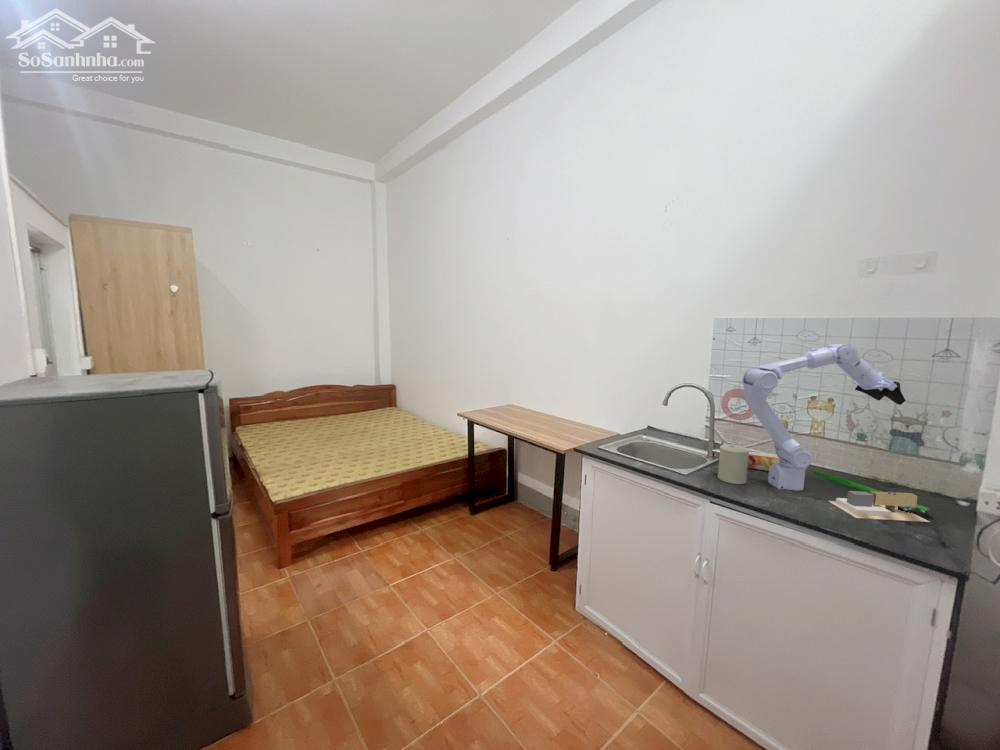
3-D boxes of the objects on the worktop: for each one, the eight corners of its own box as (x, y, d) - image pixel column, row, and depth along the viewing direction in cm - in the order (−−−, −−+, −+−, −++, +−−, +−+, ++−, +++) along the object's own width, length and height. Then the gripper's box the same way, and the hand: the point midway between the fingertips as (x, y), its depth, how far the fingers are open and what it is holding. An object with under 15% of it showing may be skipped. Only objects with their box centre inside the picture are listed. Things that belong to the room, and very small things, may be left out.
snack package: (724, 465, 156) (725, 449, 156) (724, 461, 162) (726, 445, 161) (789, 477, 145) (791, 459, 145) (788, 471, 151) (789, 454, 150)
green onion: (929, 516, 117) (816, 476, 144) (931, 506, 116) (818, 468, 143) (921, 519, 115) (808, 478, 142) (923, 509, 114) (810, 469, 141)
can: (741, 475, 145) (743, 444, 144) (750, 485, 137) (754, 452, 135) (714, 473, 147) (716, 442, 146) (721, 482, 139) (724, 450, 137)
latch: (875, 504, 114) (876, 493, 114) (869, 501, 116) (870, 490, 116) (916, 506, 113) (917, 495, 113) (909, 503, 115) (911, 492, 115)
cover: (856, 514, 112) (858, 498, 112) (835, 502, 120) (837, 487, 119) (890, 516, 111) (892, 499, 111) (867, 504, 119) (869, 488, 119)
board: (855, 522, 111) (857, 512, 110) (827, 505, 121) (828, 495, 121) (929, 526, 109) (931, 516, 108) (893, 508, 120) (895, 498, 119)
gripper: (890, 364, 118) (923, 395, 118) (852, 361, 133) (881, 388, 133) (871, 381, 119) (904, 411, 119) (836, 376, 134) (865, 402, 134)
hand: (891, 400), depth 126 cm, fingers open, 7 cm apart
